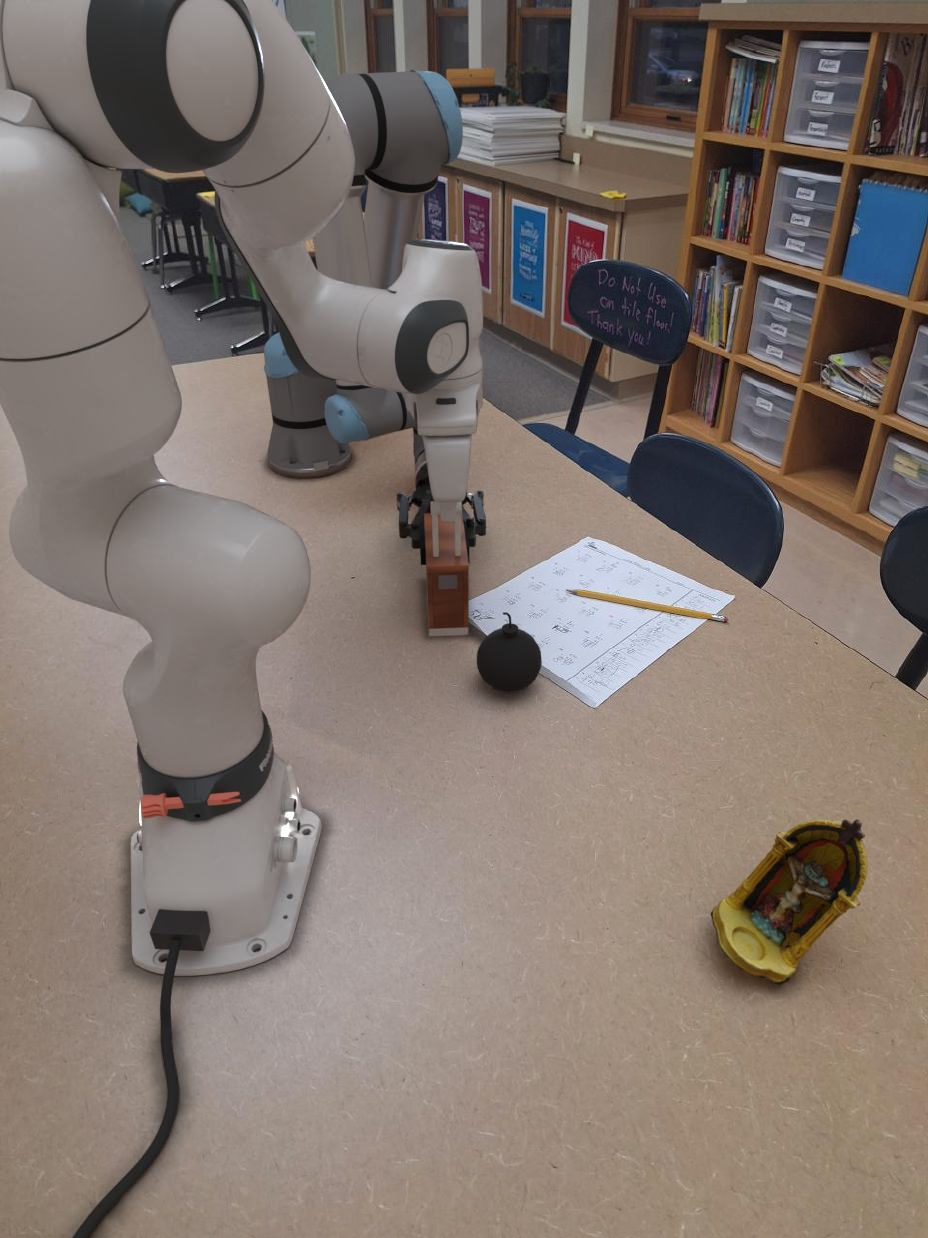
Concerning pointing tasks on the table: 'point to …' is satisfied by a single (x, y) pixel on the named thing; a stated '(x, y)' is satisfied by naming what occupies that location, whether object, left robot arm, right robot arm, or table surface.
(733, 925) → the shrine
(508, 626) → the bomb
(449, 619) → the chest
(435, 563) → the lid
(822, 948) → the table surface
